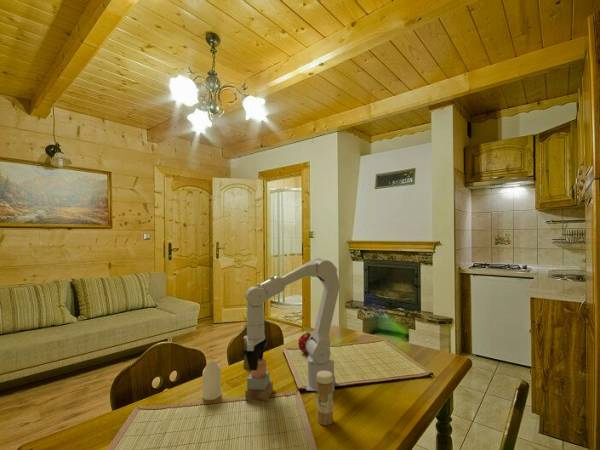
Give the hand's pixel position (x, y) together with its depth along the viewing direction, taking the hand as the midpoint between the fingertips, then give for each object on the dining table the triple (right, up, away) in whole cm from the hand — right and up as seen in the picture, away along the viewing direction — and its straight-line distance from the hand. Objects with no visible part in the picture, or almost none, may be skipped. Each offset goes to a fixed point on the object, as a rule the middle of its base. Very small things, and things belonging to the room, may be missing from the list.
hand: (256, 364), depth 104 cm
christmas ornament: (+18, -11, +35) cm, 41 cm away
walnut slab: (+1, -11, 0) cm, 11 cm away
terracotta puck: (+1, -4, 0) cm, 4 cm away
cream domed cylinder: (-15, -11, 0) cm, 18 cm away
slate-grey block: (+1, -7, +1) cm, 7 cm away
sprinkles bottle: (+22, -10, -15) cm, 28 cm away
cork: (-5, -11, +23) cm, 26 cm away
